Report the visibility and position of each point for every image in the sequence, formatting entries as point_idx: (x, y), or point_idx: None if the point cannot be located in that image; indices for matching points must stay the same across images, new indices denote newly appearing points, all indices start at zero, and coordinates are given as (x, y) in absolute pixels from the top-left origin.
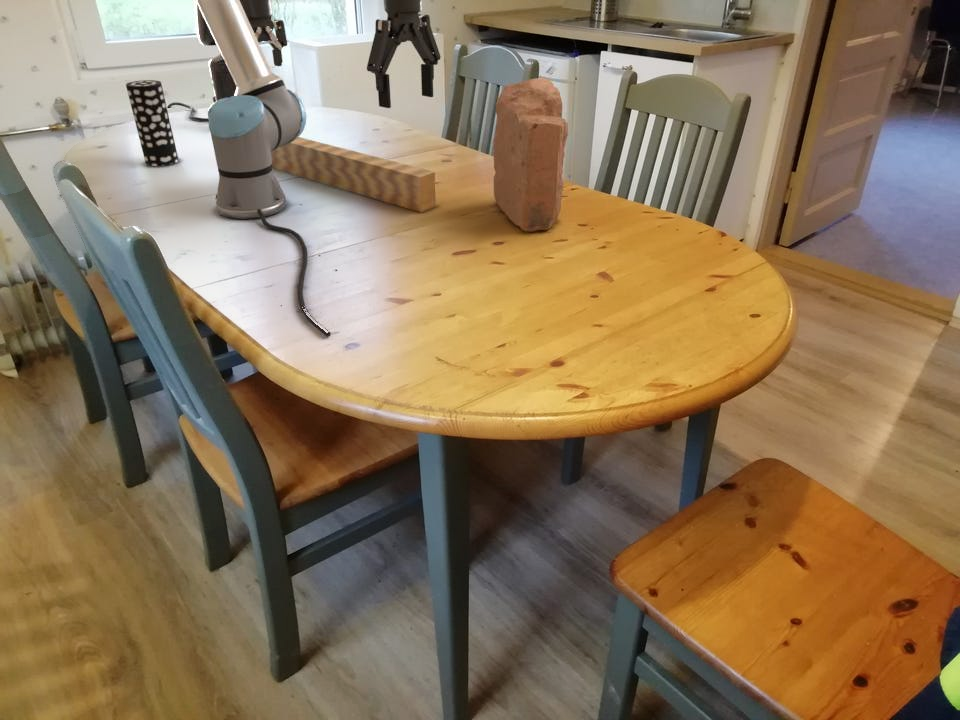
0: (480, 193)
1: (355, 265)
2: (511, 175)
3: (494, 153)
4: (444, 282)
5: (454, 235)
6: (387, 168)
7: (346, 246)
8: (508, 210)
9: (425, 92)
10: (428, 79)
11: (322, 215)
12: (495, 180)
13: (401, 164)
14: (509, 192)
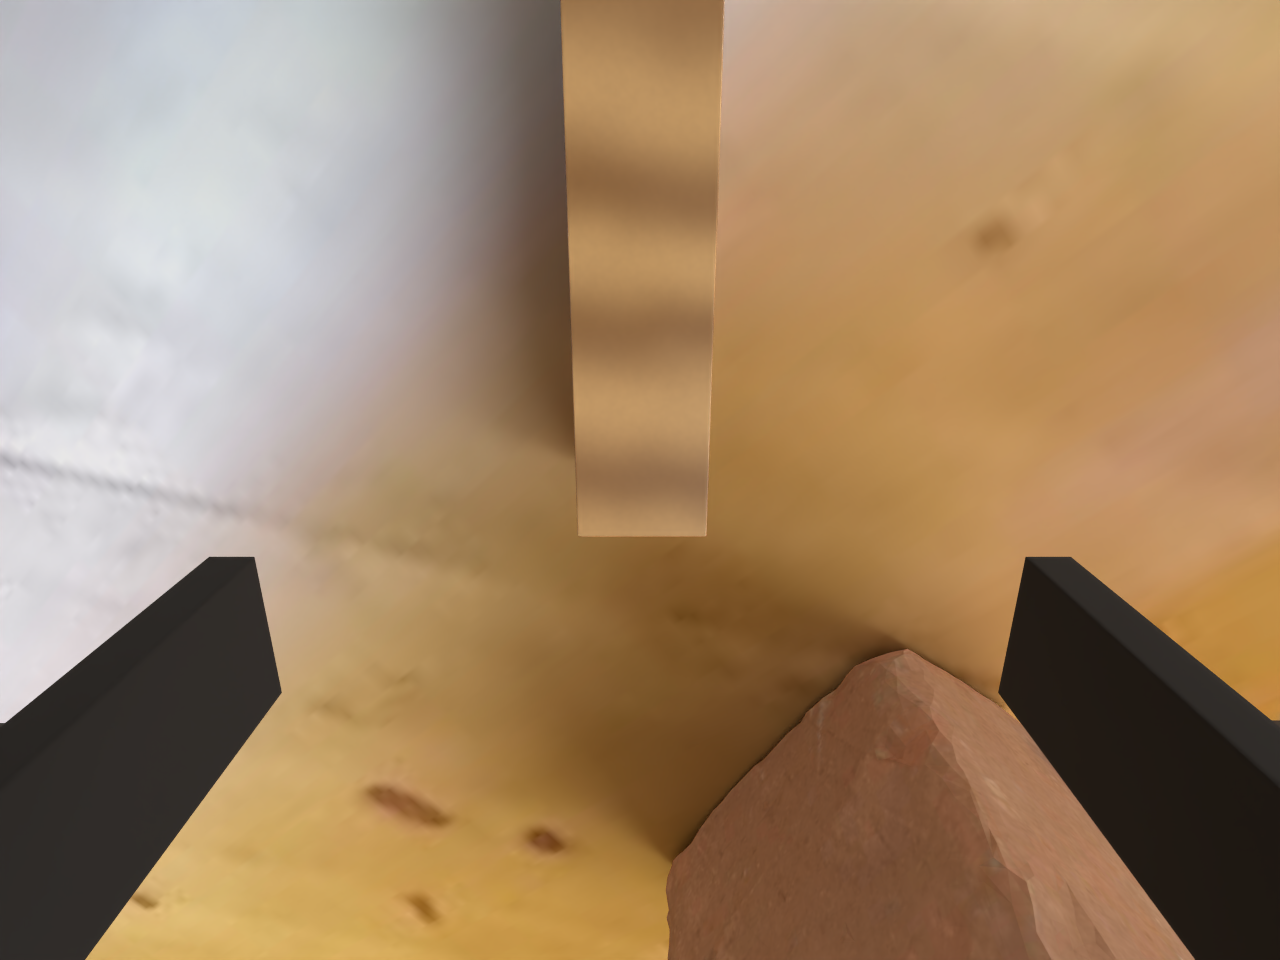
0: (966, 514)
1: (47, 620)
2: (778, 930)
3: (952, 807)
4: (210, 875)
5: (495, 706)
6: (569, 271)
7: (108, 479)
8: (762, 782)
9: (1038, 639)
10: (1136, 822)
11: (216, 98)
12: (884, 727)
13: (694, 283)
14: (775, 845)
